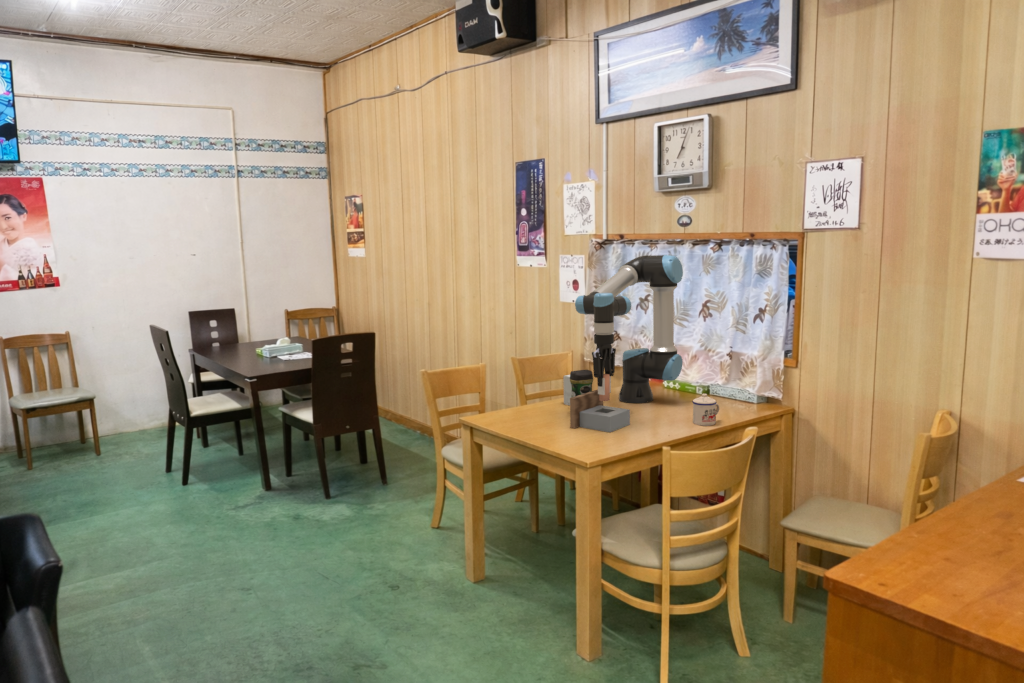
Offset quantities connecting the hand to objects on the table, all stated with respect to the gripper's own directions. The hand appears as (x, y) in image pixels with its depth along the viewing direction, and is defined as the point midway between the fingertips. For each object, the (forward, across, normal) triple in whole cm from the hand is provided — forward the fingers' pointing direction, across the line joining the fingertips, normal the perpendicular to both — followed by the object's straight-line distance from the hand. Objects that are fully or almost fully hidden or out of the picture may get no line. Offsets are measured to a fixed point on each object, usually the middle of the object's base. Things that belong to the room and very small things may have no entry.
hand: (604, 393), depth 278 cm
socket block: (+13, 0, 0) cm, 13 cm away
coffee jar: (+13, -12, -19) cm, 26 cm away
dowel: (+3, 0, 0) cm, 3 cm away
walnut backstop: (+13, 0, -8) cm, 16 cm away
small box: (+13, -25, -32) cm, 43 cm away
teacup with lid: (+13, -27, +30) cm, 42 cm away
